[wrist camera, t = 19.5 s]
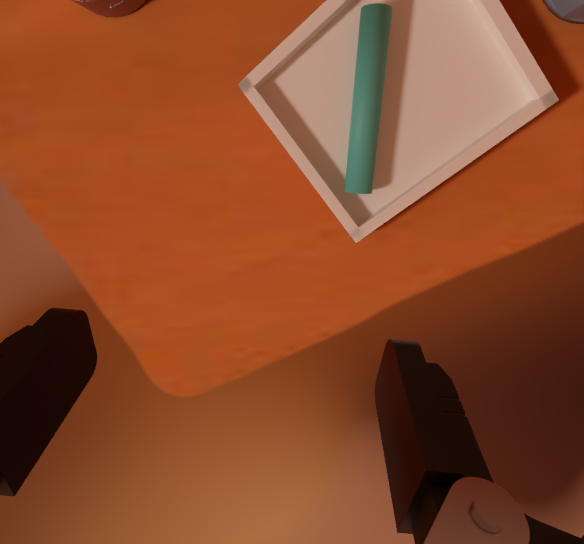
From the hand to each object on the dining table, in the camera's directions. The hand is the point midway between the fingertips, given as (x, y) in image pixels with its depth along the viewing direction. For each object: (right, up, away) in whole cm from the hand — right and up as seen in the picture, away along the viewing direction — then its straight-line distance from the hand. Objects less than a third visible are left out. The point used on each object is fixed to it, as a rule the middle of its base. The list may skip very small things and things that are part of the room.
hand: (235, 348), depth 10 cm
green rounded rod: (+8, +22, +19) cm, 31 cm away
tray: (+10, +17, +23) cm, 30 cm away
